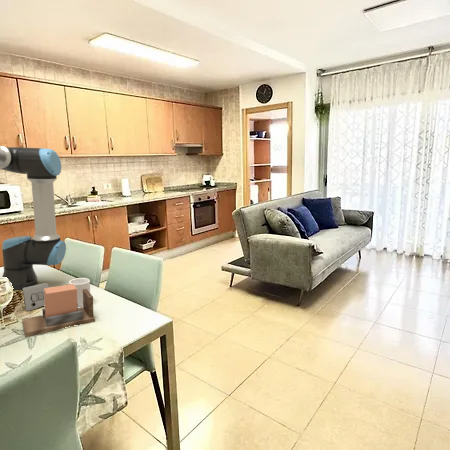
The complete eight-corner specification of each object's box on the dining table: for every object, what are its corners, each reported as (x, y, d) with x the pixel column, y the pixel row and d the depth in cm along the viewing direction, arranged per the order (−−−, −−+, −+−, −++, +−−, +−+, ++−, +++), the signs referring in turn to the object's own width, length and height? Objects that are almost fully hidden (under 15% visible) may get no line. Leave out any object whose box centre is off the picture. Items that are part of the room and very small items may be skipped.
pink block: (47, 323, 115) (46, 293, 113) (45, 316, 120) (43, 288, 118) (77, 316, 121) (76, 288, 119) (74, 310, 126) (73, 283, 124)
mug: (84, 295, 146) (83, 274, 145) (93, 303, 137) (92, 281, 136) (64, 298, 141) (64, 277, 140) (72, 308, 132) (72, 285, 131)
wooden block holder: (25, 337, 109) (23, 310, 107) (22, 323, 118) (20, 298, 117) (94, 321, 122) (94, 297, 120) (87, 309, 131) (86, 287, 130)
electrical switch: (26, 312, 127) (24, 289, 126) (21, 309, 131) (19, 287, 130) (51, 305, 135) (49, 283, 134) (46, 302, 138) (44, 281, 137)
